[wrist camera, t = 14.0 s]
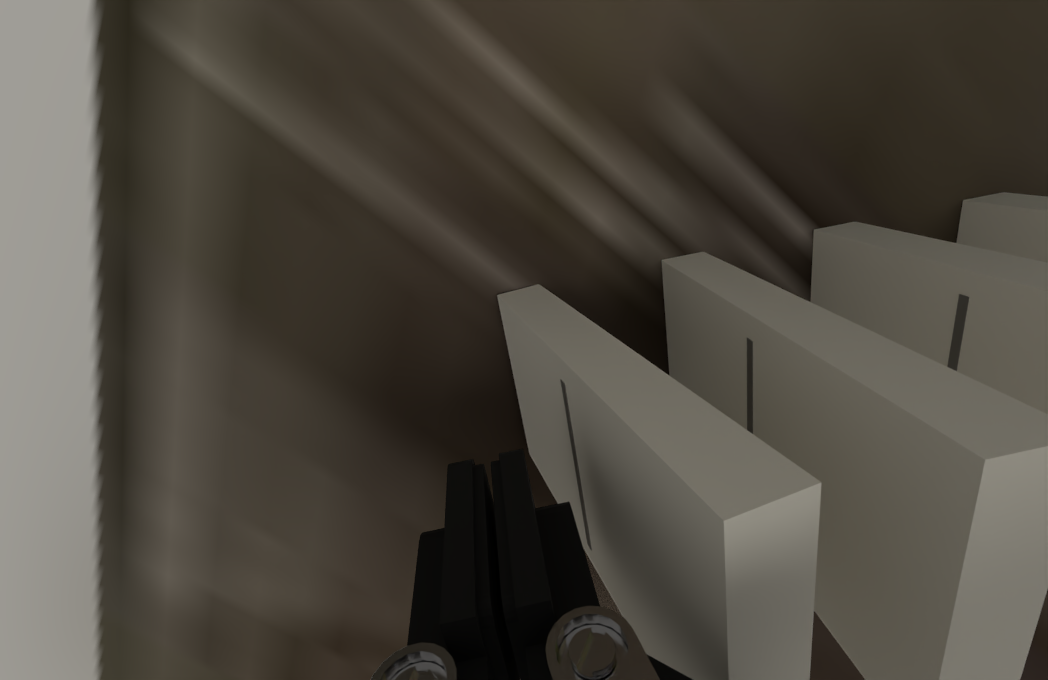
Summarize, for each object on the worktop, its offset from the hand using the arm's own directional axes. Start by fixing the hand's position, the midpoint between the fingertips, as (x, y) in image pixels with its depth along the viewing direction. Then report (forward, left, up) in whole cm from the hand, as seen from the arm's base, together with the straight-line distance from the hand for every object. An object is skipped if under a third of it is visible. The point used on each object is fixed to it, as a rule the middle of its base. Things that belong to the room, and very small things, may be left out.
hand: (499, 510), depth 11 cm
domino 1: (-2, 0, -6) cm, 6 cm away
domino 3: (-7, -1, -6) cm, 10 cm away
